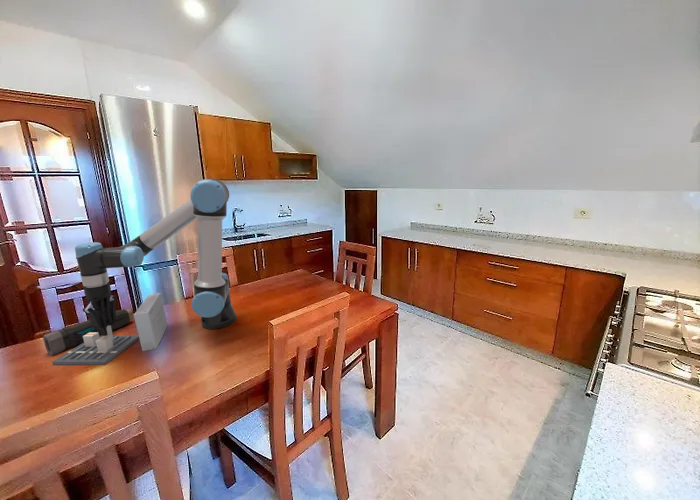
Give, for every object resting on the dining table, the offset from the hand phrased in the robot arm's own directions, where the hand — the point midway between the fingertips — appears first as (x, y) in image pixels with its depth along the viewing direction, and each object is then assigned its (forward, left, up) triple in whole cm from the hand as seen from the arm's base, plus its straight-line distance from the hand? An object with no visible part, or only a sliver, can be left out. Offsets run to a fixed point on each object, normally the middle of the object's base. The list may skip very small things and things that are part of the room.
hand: (109, 341), depth 116 cm
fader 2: (0, +2, -2) cm, 3 cm away
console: (+4, +1, -4) cm, 5 cm away
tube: (+15, -10, -4) cm, 18 cm away
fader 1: (+8, -1, -2) cm, 8 cm away
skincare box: (-12, -9, -4) cm, 15 cm away
